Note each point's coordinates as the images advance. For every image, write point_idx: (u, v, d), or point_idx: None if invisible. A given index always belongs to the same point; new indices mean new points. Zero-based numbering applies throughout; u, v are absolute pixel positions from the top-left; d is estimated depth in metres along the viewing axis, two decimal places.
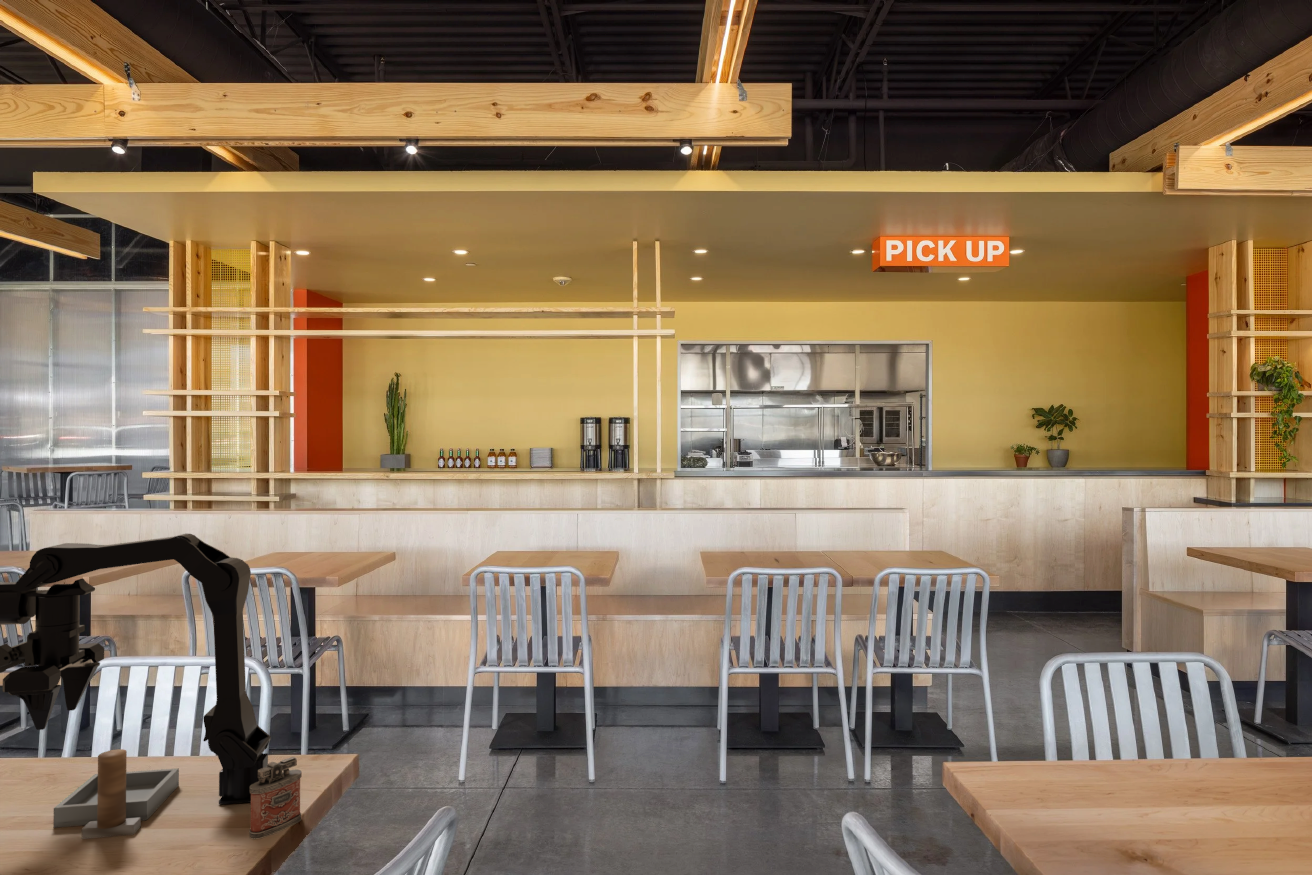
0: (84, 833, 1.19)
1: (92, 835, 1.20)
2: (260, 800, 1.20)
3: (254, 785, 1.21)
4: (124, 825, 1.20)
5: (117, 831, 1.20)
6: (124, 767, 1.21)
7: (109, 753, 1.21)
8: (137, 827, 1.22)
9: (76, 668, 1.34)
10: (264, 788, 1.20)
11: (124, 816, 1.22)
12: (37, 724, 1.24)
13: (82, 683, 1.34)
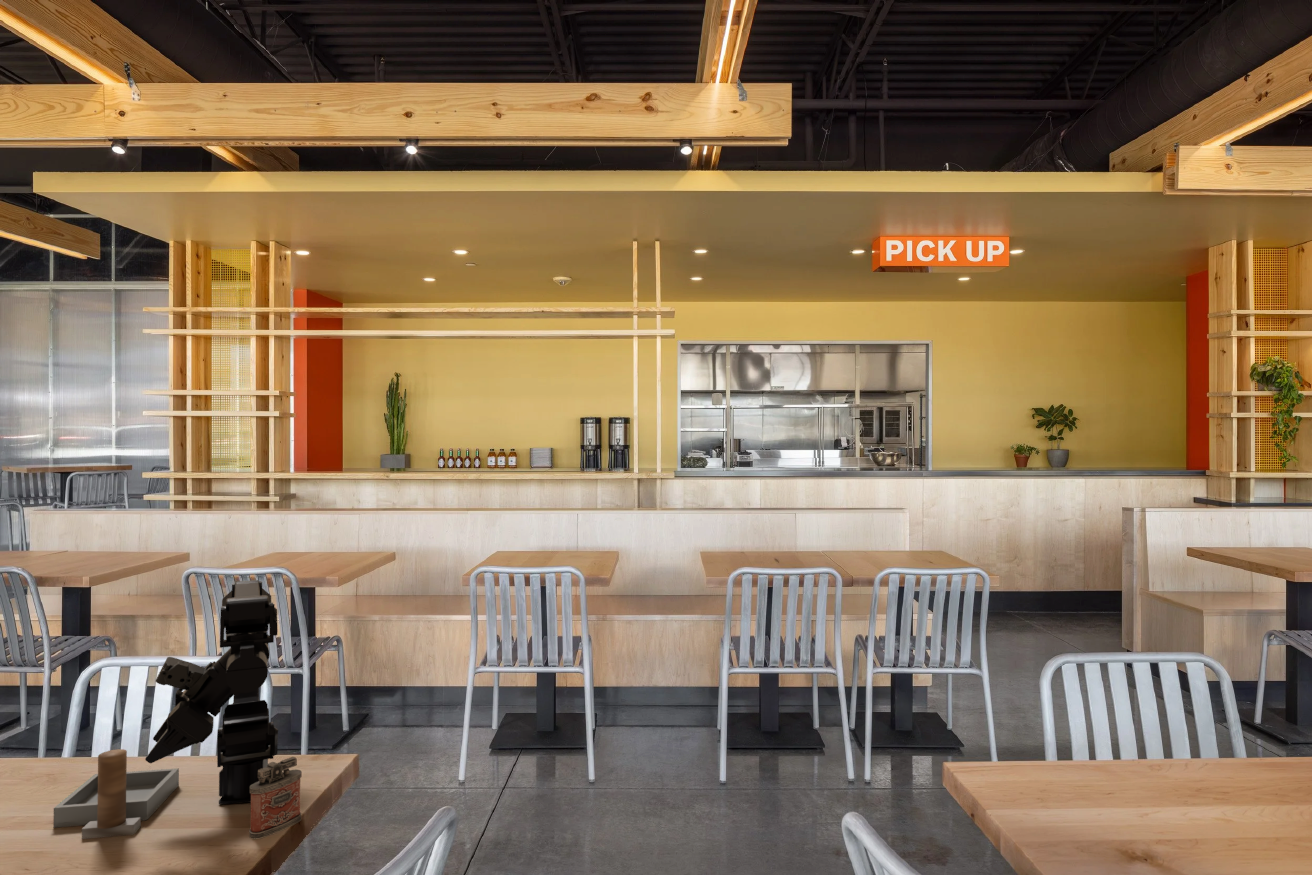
0: (84, 833, 1.19)
1: (92, 835, 1.20)
2: (260, 800, 1.20)
3: (254, 785, 1.21)
4: (124, 825, 1.20)
5: (117, 831, 1.20)
6: (124, 767, 1.21)
7: (109, 753, 1.21)
8: (137, 827, 1.22)
9: None
10: (264, 788, 1.20)
11: (124, 816, 1.22)
12: (151, 756, 1.19)
13: None
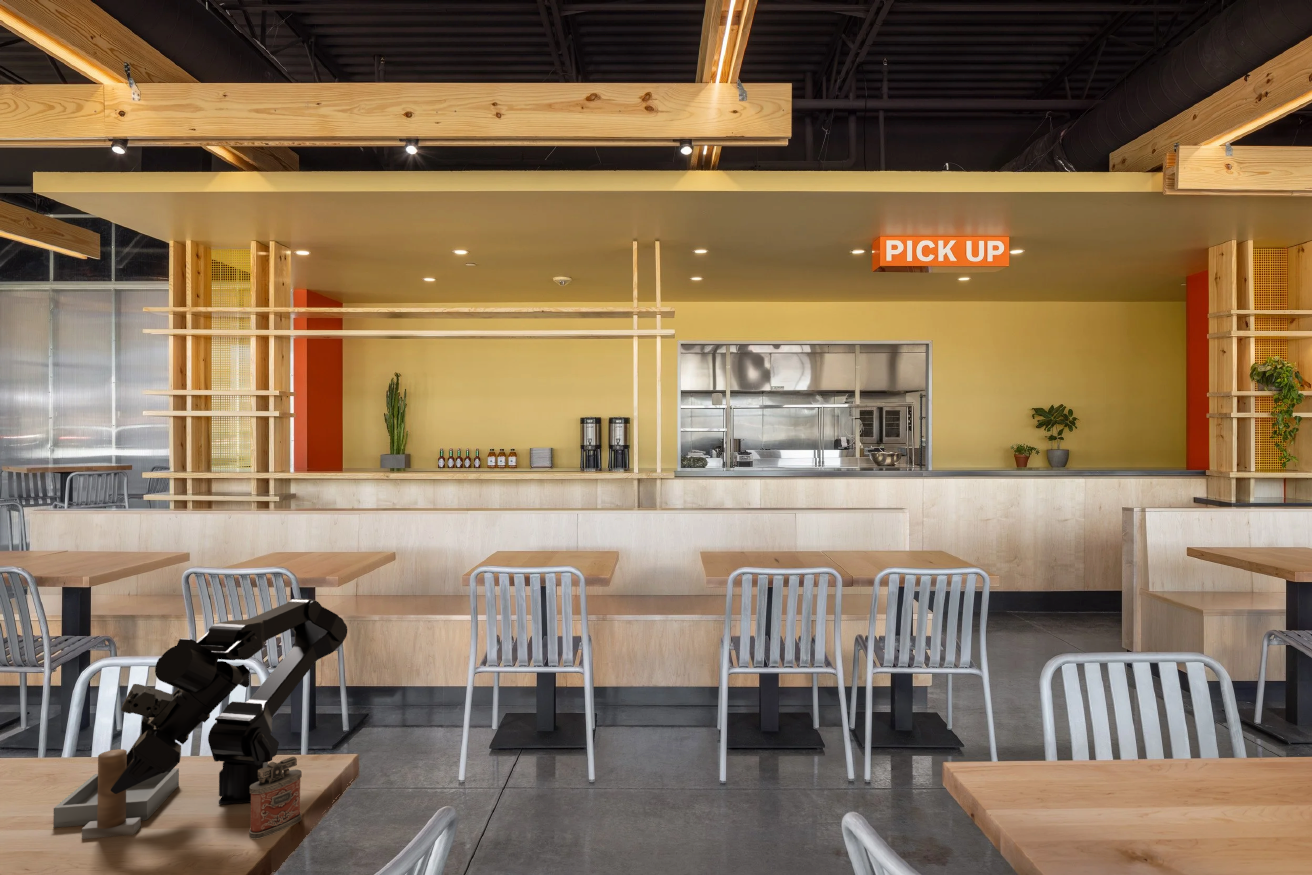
0: (84, 833, 1.19)
1: (92, 835, 1.20)
2: (260, 800, 1.20)
3: (254, 785, 1.21)
4: (124, 825, 1.20)
5: (117, 831, 1.20)
6: (124, 767, 1.21)
7: (109, 753, 1.21)
8: (137, 827, 1.22)
9: None
10: (264, 788, 1.20)
11: (124, 816, 1.22)
12: (116, 787, 1.17)
13: None
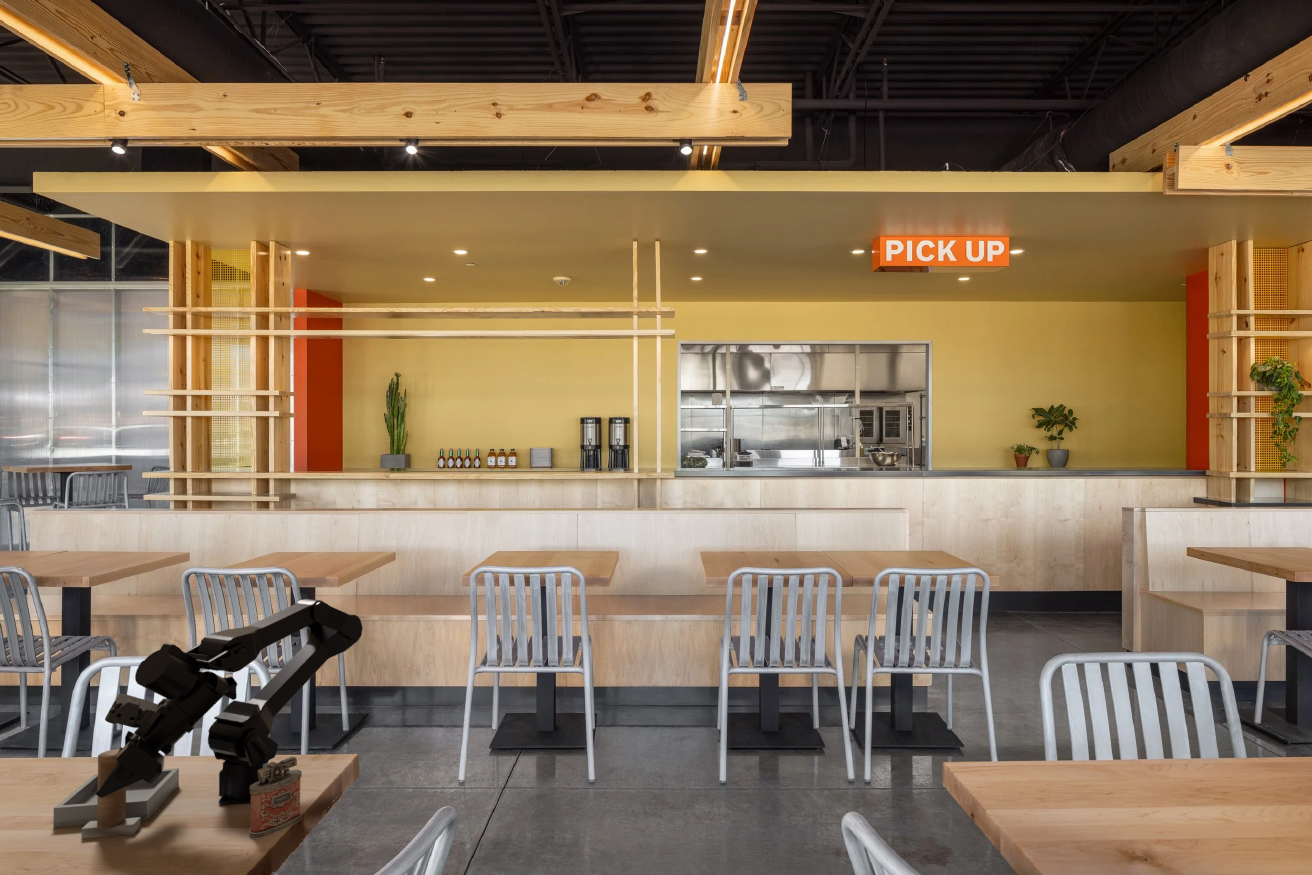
0: (84, 833, 1.19)
1: (92, 835, 1.20)
2: (260, 800, 1.20)
3: (254, 785, 1.21)
4: (124, 825, 1.20)
5: (117, 831, 1.20)
6: None
7: (109, 753, 1.21)
8: (137, 827, 1.22)
9: None
10: (264, 788, 1.20)
11: (124, 816, 1.21)
12: (102, 790, 1.19)
13: None
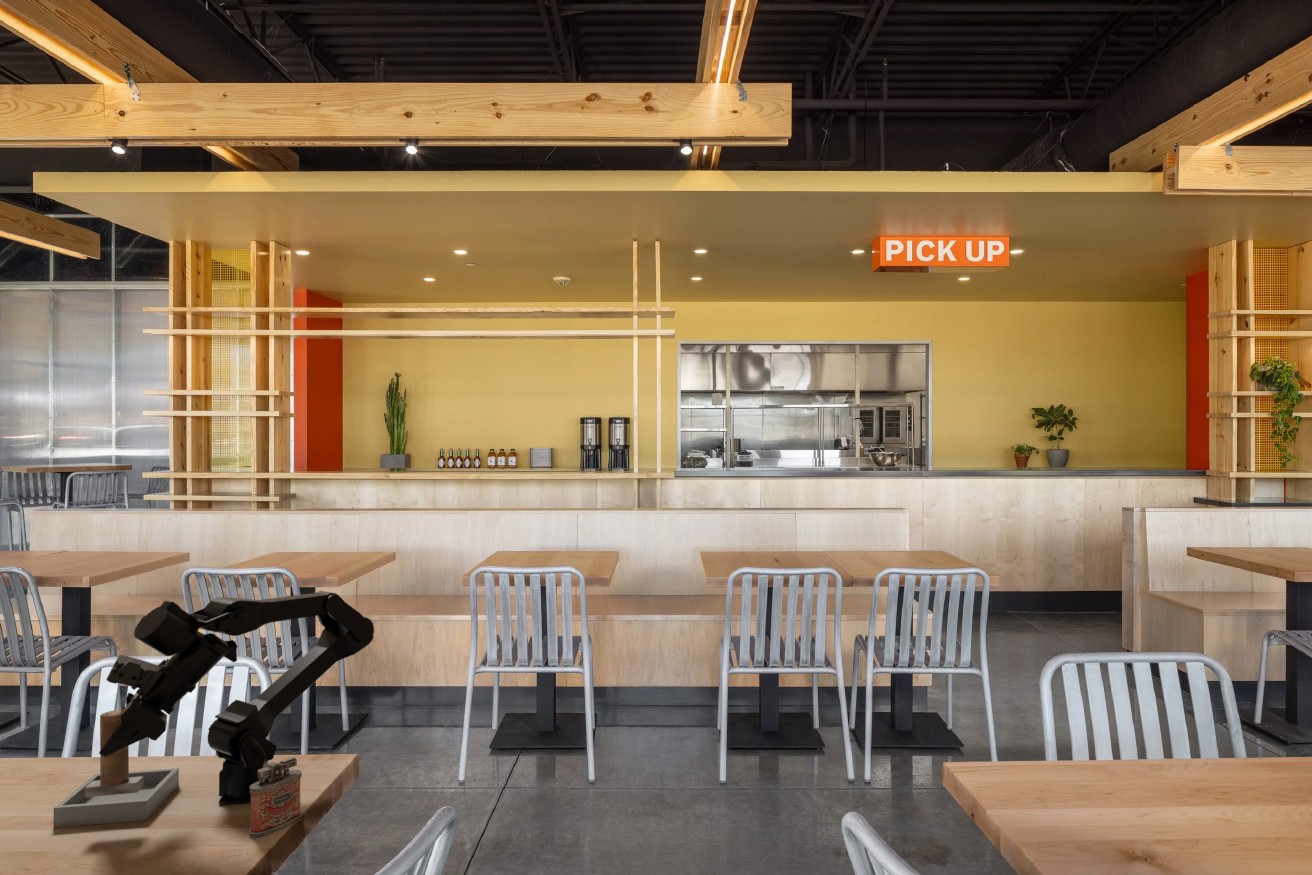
0: (87, 792, 1.21)
1: (96, 793, 1.21)
2: (260, 800, 1.20)
3: (254, 785, 1.21)
4: (127, 783, 1.22)
5: (120, 789, 1.22)
6: None
7: (111, 713, 1.22)
8: (140, 785, 1.23)
9: None
10: (264, 788, 1.20)
11: (127, 775, 1.23)
12: (105, 749, 1.20)
13: None
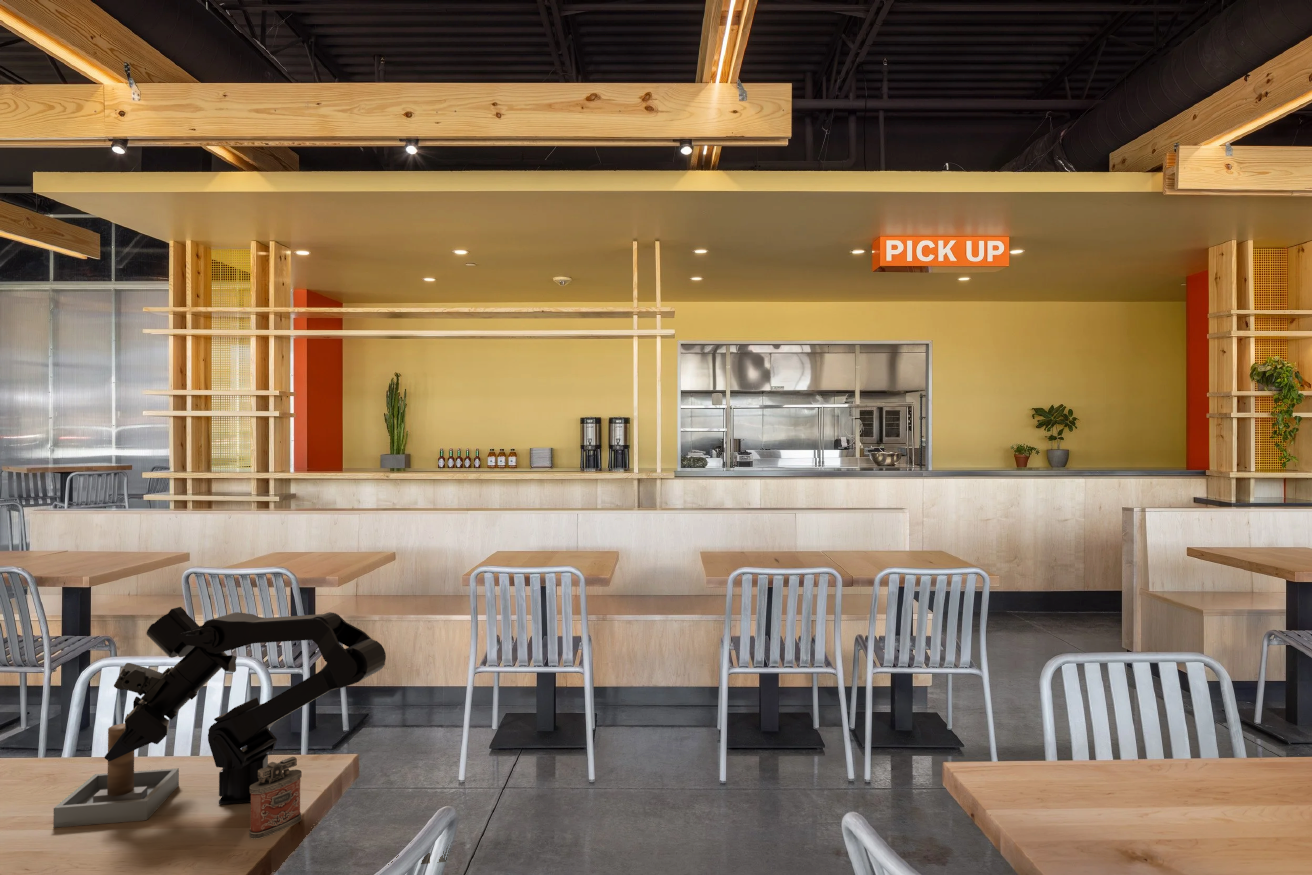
0: (95, 800, 1.29)
1: None
2: (260, 800, 1.20)
3: (254, 785, 1.21)
4: (132, 793, 1.30)
5: (126, 798, 1.29)
6: None
7: (118, 726, 1.31)
8: (144, 795, 1.31)
9: None
10: (264, 788, 1.20)
11: (132, 785, 1.31)
12: (110, 754, 1.27)
13: None
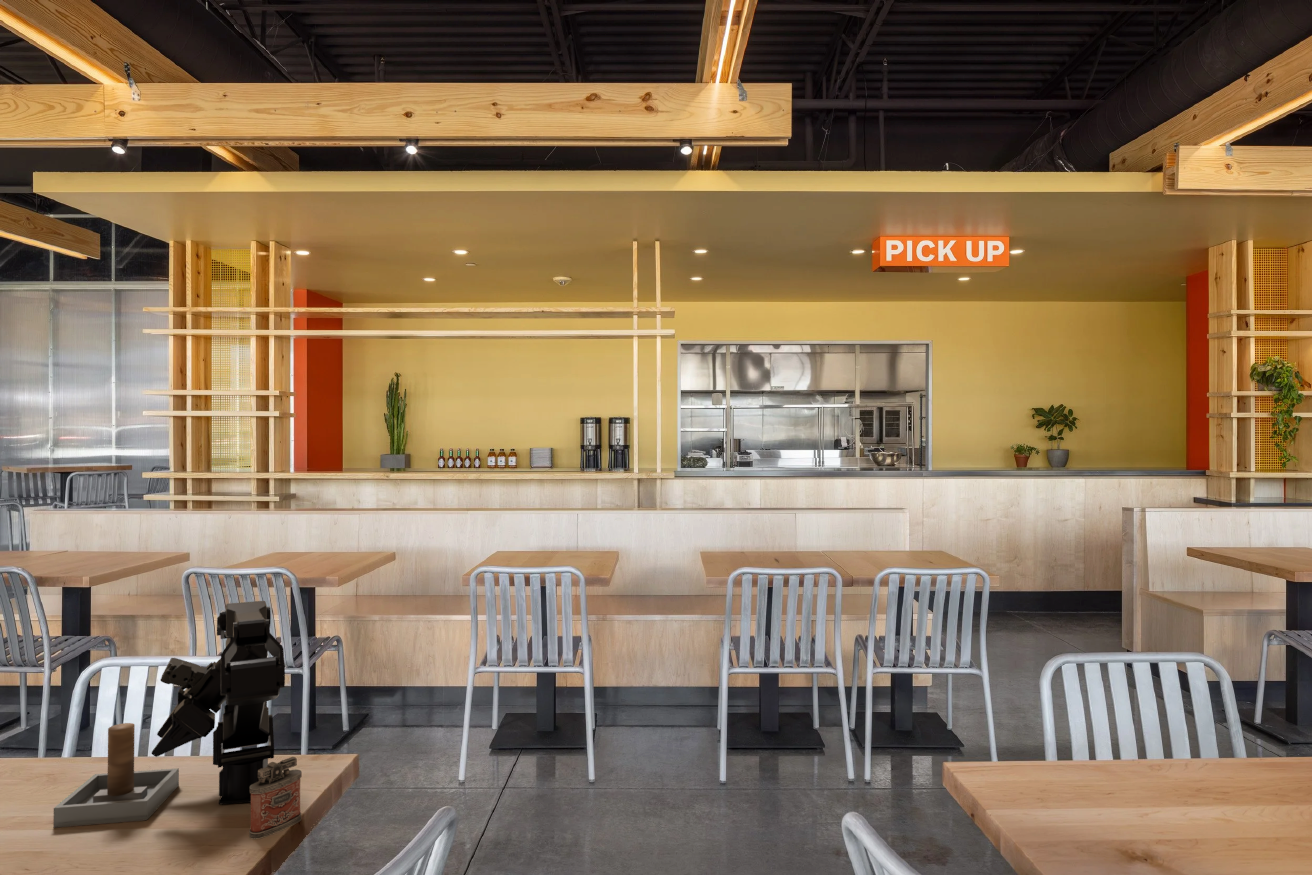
0: (95, 800, 1.29)
1: None
2: (260, 800, 1.20)
3: (254, 785, 1.21)
4: (132, 793, 1.30)
5: (126, 798, 1.29)
6: (132, 739, 1.31)
7: (118, 726, 1.31)
8: (144, 795, 1.31)
9: None
10: (264, 788, 1.20)
11: (132, 785, 1.31)
12: (157, 750, 1.28)
13: None
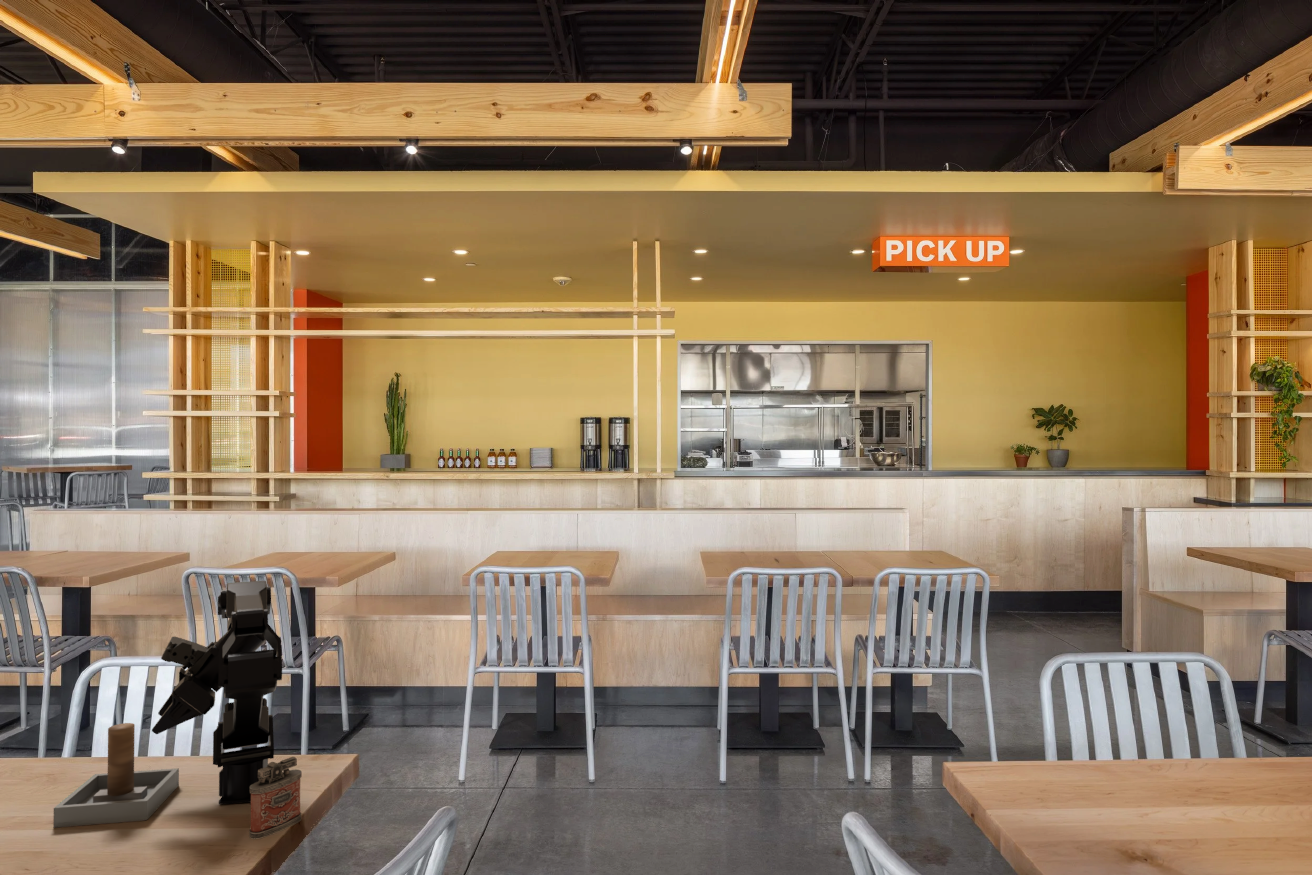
0: (95, 800, 1.29)
1: None
2: (260, 800, 1.20)
3: (254, 785, 1.21)
4: (132, 793, 1.30)
5: (126, 798, 1.29)
6: (132, 739, 1.31)
7: (118, 726, 1.31)
8: (144, 795, 1.31)
9: None
10: (264, 788, 1.20)
11: (132, 785, 1.31)
12: (157, 727, 1.29)
13: None
